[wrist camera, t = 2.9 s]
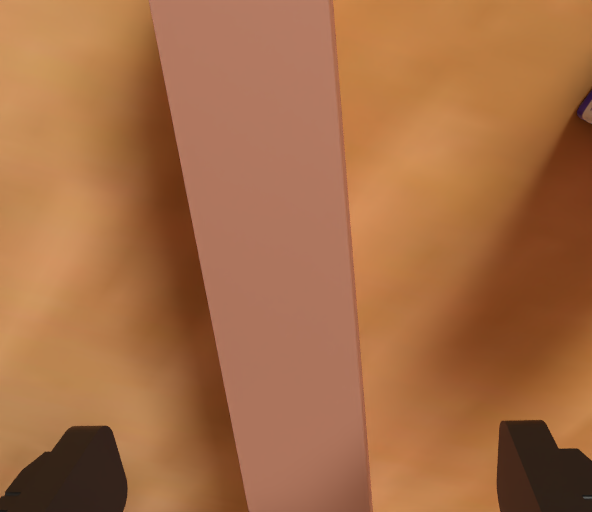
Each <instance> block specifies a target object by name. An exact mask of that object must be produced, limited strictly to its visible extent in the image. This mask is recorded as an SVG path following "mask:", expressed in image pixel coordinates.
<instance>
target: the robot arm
mask: <svg viewBox="0 0 592 512" xmlns="http://www.w3.org/2000/svg"><path fill="white" fill-rule="evenodd" d="M497 494H498V501H499V507H500V511H501V512H592V461H591V460H590V459H589V458H588V457H587V456H586V455H584V454H583V453H582V452H581V451H580V450H579V449H558V447H557V445H556V443H555V441H554V439H553V437H552V435H551V433H550V431H549V429H548V427H547V425H546V424H545V422H544V421H542V420H522V421H501V423H500V428H499V446H498V465H497ZM126 499H127V479H126V476H125V472H124V469H123V465H122V462H121V459H120V455H119V452H118V448H117V445H116V441H115V438H114V435H113V432H112V430H111V429H110V427H108V426H73V427H71V428H69V429H68V430H67V431H66V432H65V434H64V435H63V436H62V438H61V439H60V440H59V442H58V443H57V444H56V446H55V447H54V448H53V450H52V451H51V452H44V453H43V454H42V455H41V456H39V457H38V458H37V459H36V460H34V461H33V462H32V463H31V464H29V465H28V466H27V467H26V468H24V469H23V470H22V471H21V472H20V473H19V475H18V476H17V477H16V479H15V480H14V481H13V482H12V484H11V485H10V486H9V488H8V489H7V490H6V492H5V496H2V497H1V498H0V512H123V510H124V507H125V504H126Z"/></svg>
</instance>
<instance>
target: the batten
mask: <svg viewBox="0 0 592 512" xmlns="http://www.w3.org/2000/svg"><path fill="white" fill-rule="evenodd" d="M149 4H150V9H151V14H152V19H153V24H154V30H155V35H156V40H157V45H158V50H159V55H160V60H161V65H162V70H163V76H164V81H165V86H166V91H167V96H168V101H169V106H170V111H171V116H172V122H173V127H174V132H175V137H176V142H177V147H178V152H179V157H180V162H181V168H182V173H183V178H184V183H185V188H186V193H187V198H188V203H189V208H190V214H191V219H192V224H193V229H194V234H195V239H196V244H197V249H198V254H199V260H200V265H201V270H202V275H203V280H204V285H205V290H206V295H207V300H208V306H209V311H210V316H211V321H212V326H213V331H214V336H215V341H216V346H217V352H218V357H219V362H220V367H221V372H222V377H223V382H224V387H225V392H226V397H227V403H228V408H229V413H230V418H231V423H232V428H233V433H234V438H235V443H236V449H237V454H238V459H239V464H240V469H241V474H242V479H243V484H244V489H245V495H246V500H247V505H248V510H249V512H373V507H372V494H371V481H370V468H369V456H368V443H367V430H366V417H365V405H364V392H363V379H362V366H361V353H360V341H359V328H358V315H357V302H356V290H355V277H354V264H353V251H352V239H351V226H350V213H349V200H348V187H347V175H346V162H345V149H344V136H343V124H342V111H341V98H340V85H339V73H338V60H337V47H336V34H335V22H334V9H333V0H149Z"/></svg>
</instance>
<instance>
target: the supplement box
mask: <svg viewBox="0 0 592 512" xmlns="http://www.w3.org/2000/svg"><path fill="white" fill-rule="evenodd" d="M577 115H578V117H579V118H581V119H583V120H585V121H587V122H589V123H591V124H592V90H591V91H590V93H589V94H588V95H587V97H586V98H585V99H584V101H583V102H582V104H581V105H580V106H579V108H578V110H577Z"/></svg>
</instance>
